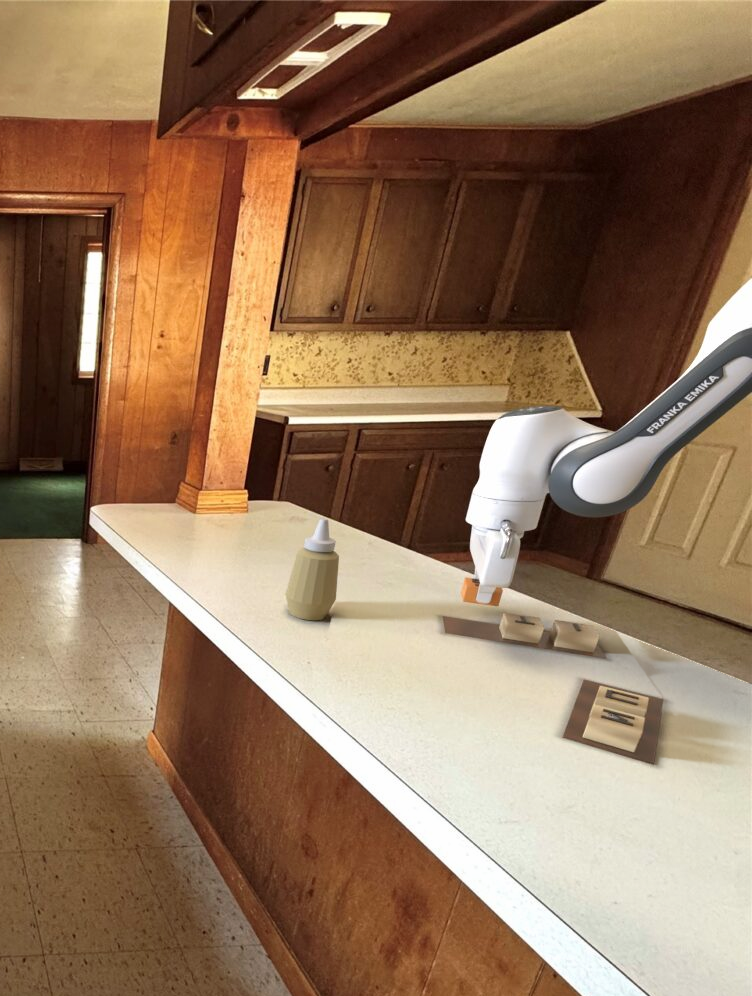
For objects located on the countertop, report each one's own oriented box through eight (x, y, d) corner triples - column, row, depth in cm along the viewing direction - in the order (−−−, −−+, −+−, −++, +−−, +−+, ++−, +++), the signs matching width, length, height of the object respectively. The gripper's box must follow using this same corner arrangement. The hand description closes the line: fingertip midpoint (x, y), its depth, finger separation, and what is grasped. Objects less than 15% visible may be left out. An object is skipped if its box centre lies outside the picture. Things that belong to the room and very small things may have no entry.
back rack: (592, 644, 106) (600, 621, 104) (604, 664, 100) (613, 641, 98) (441, 620, 116) (446, 600, 114) (443, 638, 110) (449, 616, 108)
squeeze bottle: (275, 606, 124) (290, 513, 117) (319, 606, 124) (336, 512, 117) (294, 624, 117) (311, 526, 110) (340, 623, 116) (361, 525, 110)
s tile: (495, 597, 109) (499, 580, 108) (498, 606, 106) (503, 589, 105) (460, 592, 112) (465, 576, 111) (462, 601, 108) (467, 585, 107)
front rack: (581, 685, 94) (590, 660, 93) (660, 705, 89) (671, 679, 88) (560, 742, 82) (570, 715, 81) (650, 770, 77) (663, 741, 75)
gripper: (539, 532, 94) (513, 621, 99) (519, 501, 110) (497, 579, 115) (484, 527, 97) (461, 614, 102) (472, 497, 113) (453, 573, 118)
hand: (480, 595), depth 108 cm, fingers closed on s tile, 4 cm apart
